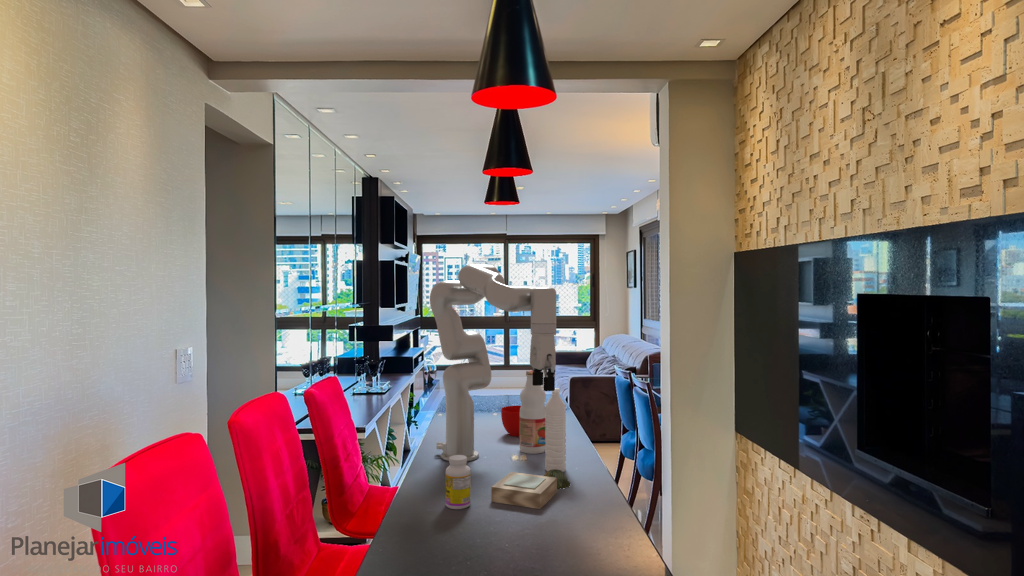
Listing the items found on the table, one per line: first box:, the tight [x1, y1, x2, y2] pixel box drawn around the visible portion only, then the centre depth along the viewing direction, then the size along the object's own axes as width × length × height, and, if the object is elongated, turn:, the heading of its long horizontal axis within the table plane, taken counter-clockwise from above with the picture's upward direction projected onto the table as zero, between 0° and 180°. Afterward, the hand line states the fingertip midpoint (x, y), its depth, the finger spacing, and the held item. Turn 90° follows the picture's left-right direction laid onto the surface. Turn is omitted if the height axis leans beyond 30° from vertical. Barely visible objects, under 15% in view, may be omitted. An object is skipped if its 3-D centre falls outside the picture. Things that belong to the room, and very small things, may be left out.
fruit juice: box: [519, 369, 547, 455], centre depth 213 cm, size 9×9×28 cm
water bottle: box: [544, 387, 567, 473], centre depth 192 cm, size 9×6×25 cm
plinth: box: [490, 471, 558, 510], centre depth 167 cm, size 14×14×4 cm
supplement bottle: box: [444, 455, 472, 510], centre depth 160 cm, size 7×7×13 cm
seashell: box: [542, 469, 571, 490], centre depth 178 cm, size 10×4×10 cm
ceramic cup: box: [500, 405, 521, 438], centre depth 237 cm, size 13×17×10 cm
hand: (543, 388), depth 176 cm, fingers open, 9 cm apart
